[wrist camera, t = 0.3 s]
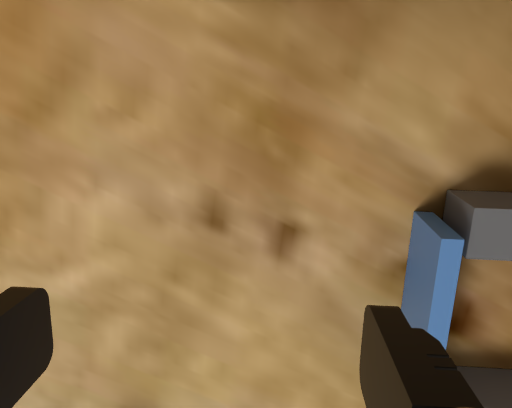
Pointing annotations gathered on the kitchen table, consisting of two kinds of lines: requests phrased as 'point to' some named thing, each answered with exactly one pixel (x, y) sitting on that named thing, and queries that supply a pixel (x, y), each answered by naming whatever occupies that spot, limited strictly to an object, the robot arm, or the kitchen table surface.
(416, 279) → the gray e-shaped frame
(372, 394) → the robot arm
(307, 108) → the kitchen table surface
